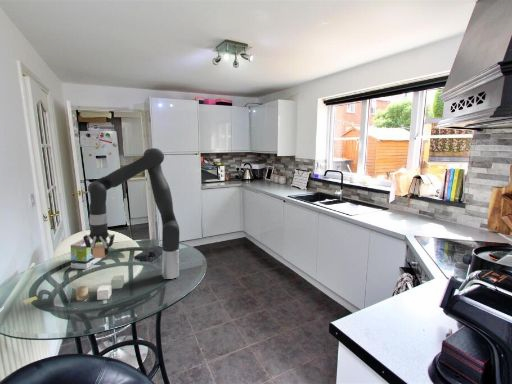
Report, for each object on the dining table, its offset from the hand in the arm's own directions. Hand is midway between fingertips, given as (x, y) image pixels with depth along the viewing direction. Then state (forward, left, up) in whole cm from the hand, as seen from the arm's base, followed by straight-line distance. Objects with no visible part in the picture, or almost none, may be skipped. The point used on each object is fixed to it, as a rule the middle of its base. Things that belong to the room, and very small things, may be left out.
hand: (100, 254), depth 135 cm
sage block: (-6, -5, -20) cm, 22 cm away
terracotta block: (0, 0, -1) cm, 1 cm away
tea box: (+19, -35, -20) cm, 45 cm away
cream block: (-3, +5, -20) cm, 21 cm away
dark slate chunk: (-17, -46, -21) cm, 54 cm away
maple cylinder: (+7, +5, -20) cm, 22 cm away
